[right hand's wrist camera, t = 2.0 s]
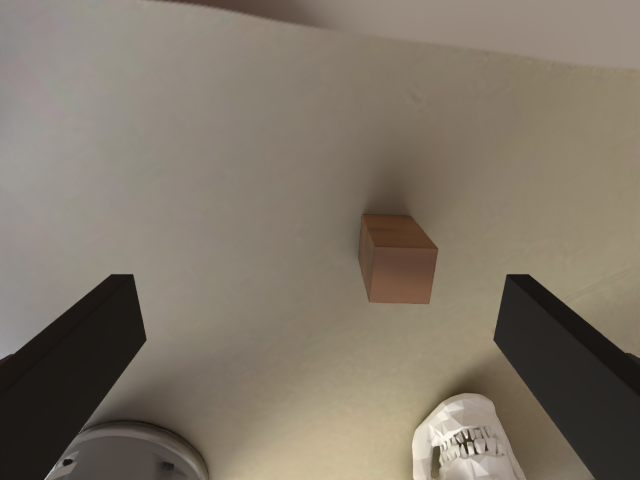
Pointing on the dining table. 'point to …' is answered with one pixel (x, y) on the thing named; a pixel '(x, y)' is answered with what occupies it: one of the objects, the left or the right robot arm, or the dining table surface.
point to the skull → (451, 418)
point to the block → (396, 260)
